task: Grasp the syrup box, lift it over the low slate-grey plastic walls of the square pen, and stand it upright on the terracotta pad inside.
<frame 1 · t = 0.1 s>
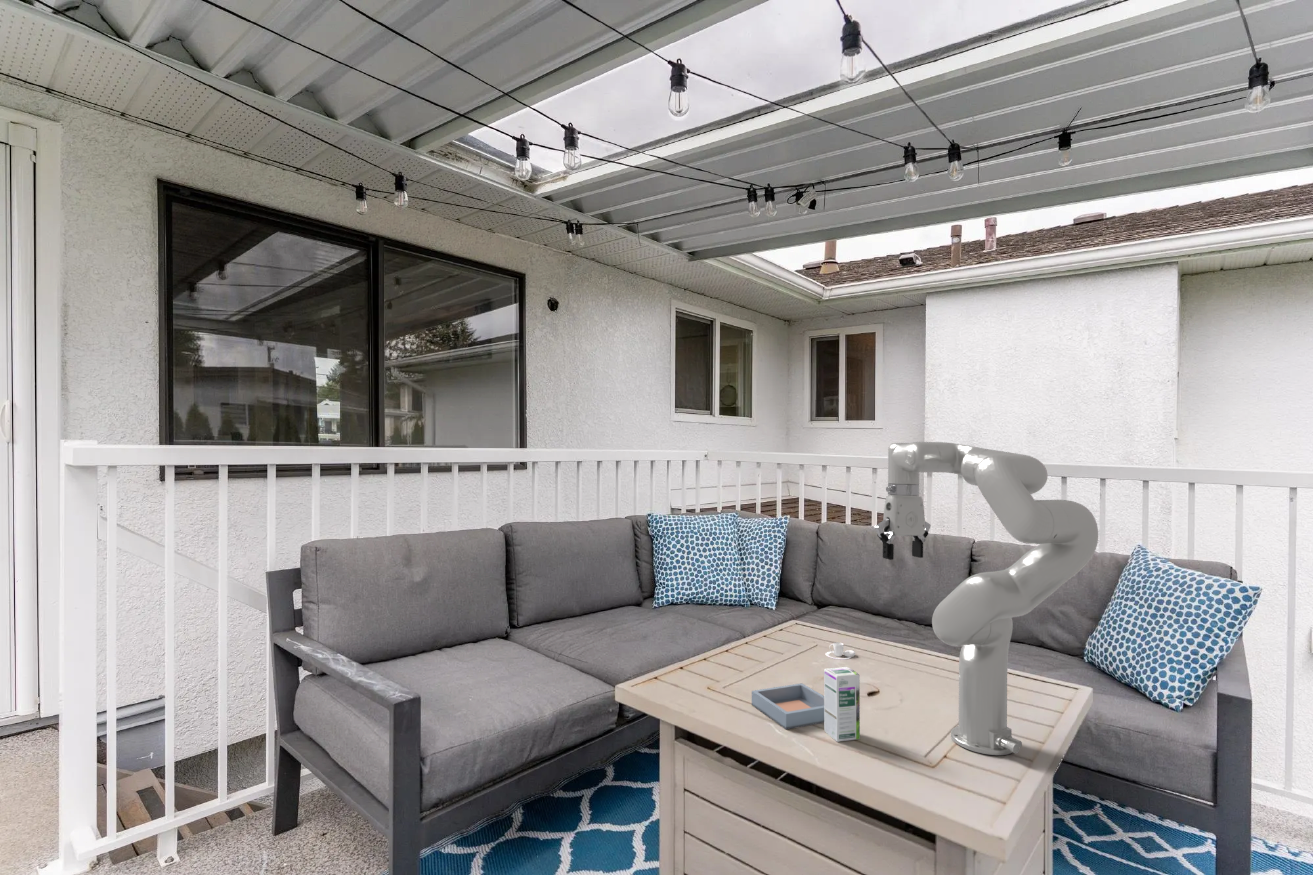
hand: (902, 557, 163), 37 cm above the table, tool pointing down, fingers open, 9 cm apart
teacup and saucer: (845, 660, 197), on the table
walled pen: (794, 712, 155), on the table
syrup box: (841, 736, 143), on the table
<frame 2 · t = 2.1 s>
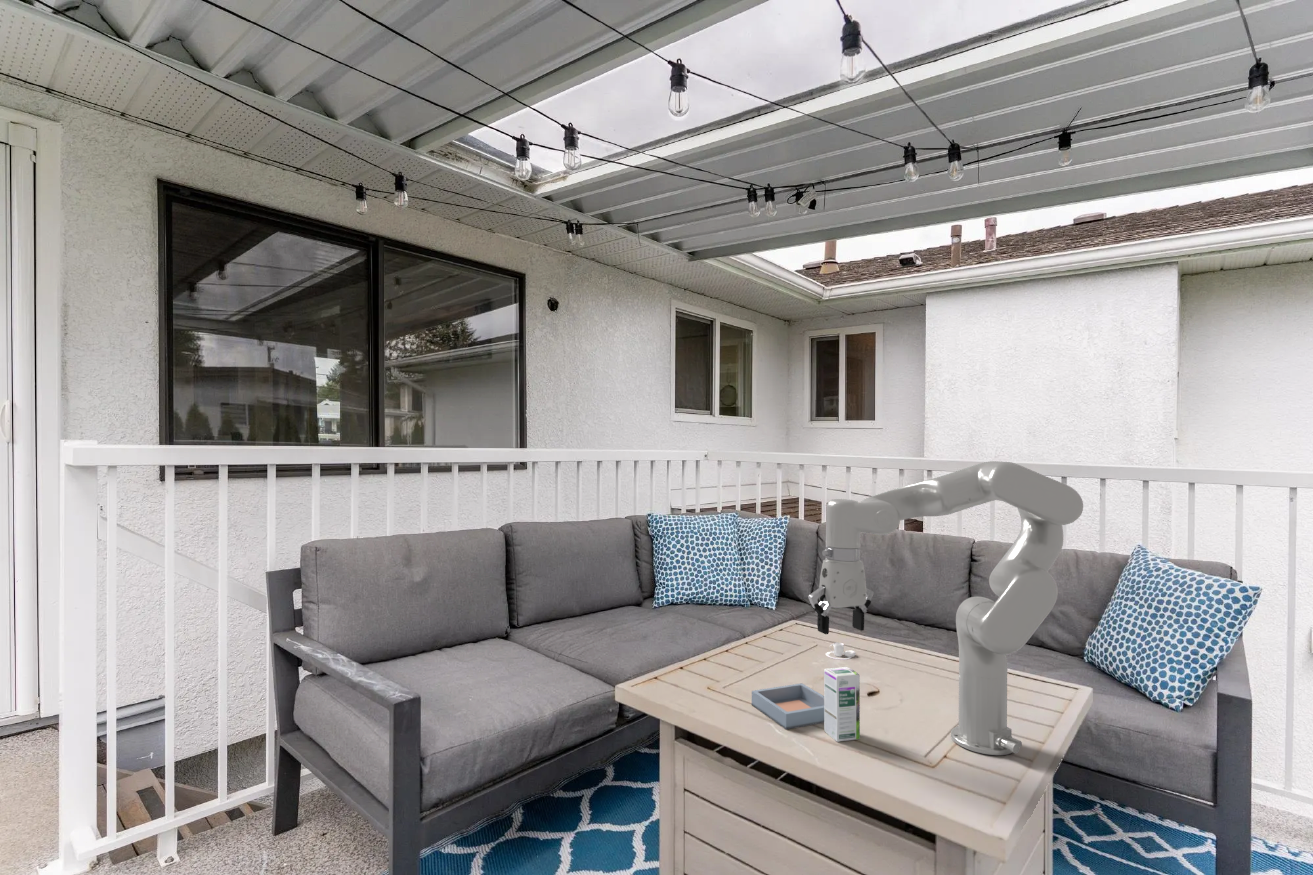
hand: (840, 630, 144), 23 cm above the table, tool pointing down, fingers open, 9 cm apart
nothing on the table moved.
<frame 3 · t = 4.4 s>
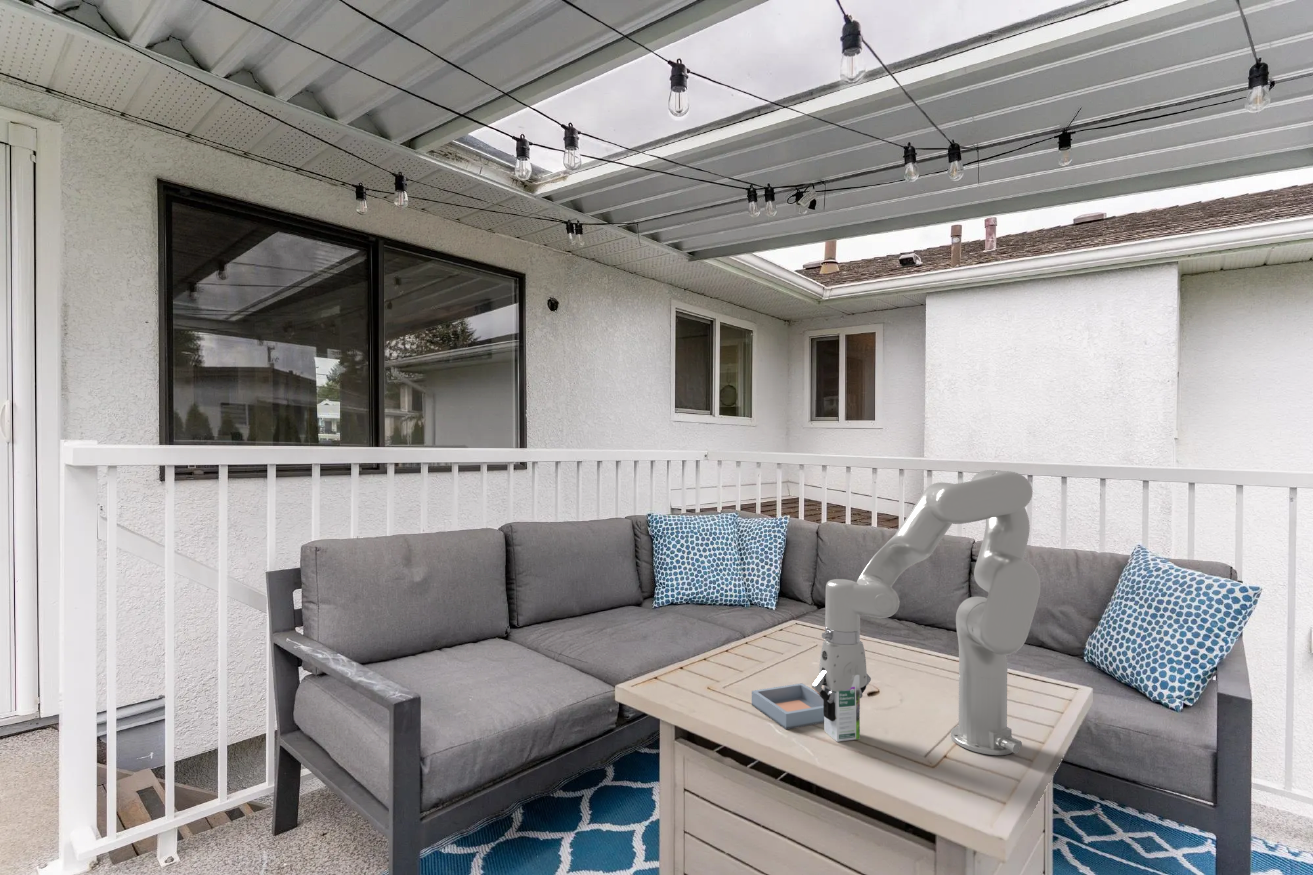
hand: (841, 715, 143), 4 cm above the table, tool pointing down, fingers closed on syrup box, 6 cm apart
syrup box: (841, 736, 143), on the table, touching gripper
everything else where it was.
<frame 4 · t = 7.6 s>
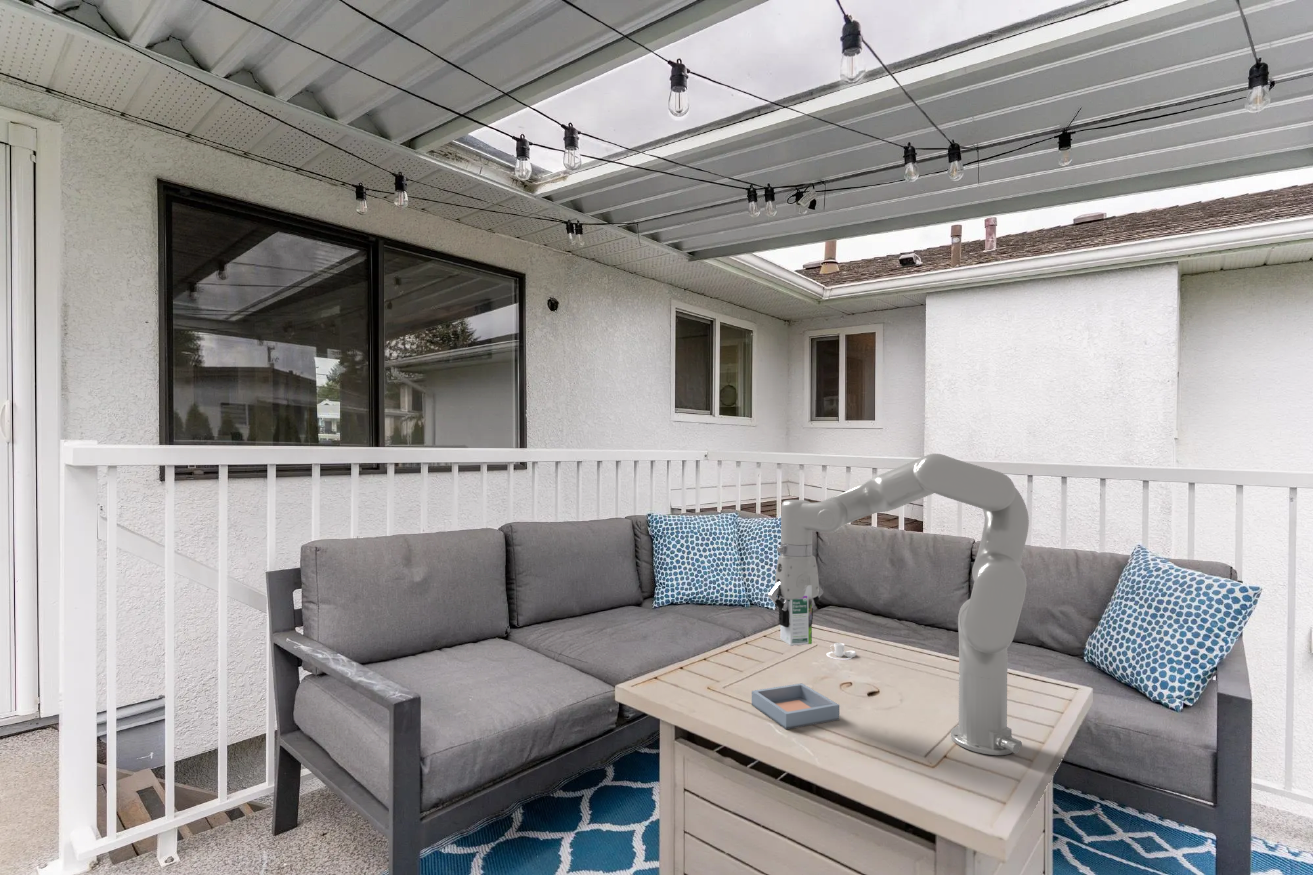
hand: (795, 623, 156), 21 cm above the table, tool pointing down, fingers closed on syrup box, 6 cm apart
syrup box: (795, 642, 156), point 17 cm above the table, touching gripper
everything else where it was.
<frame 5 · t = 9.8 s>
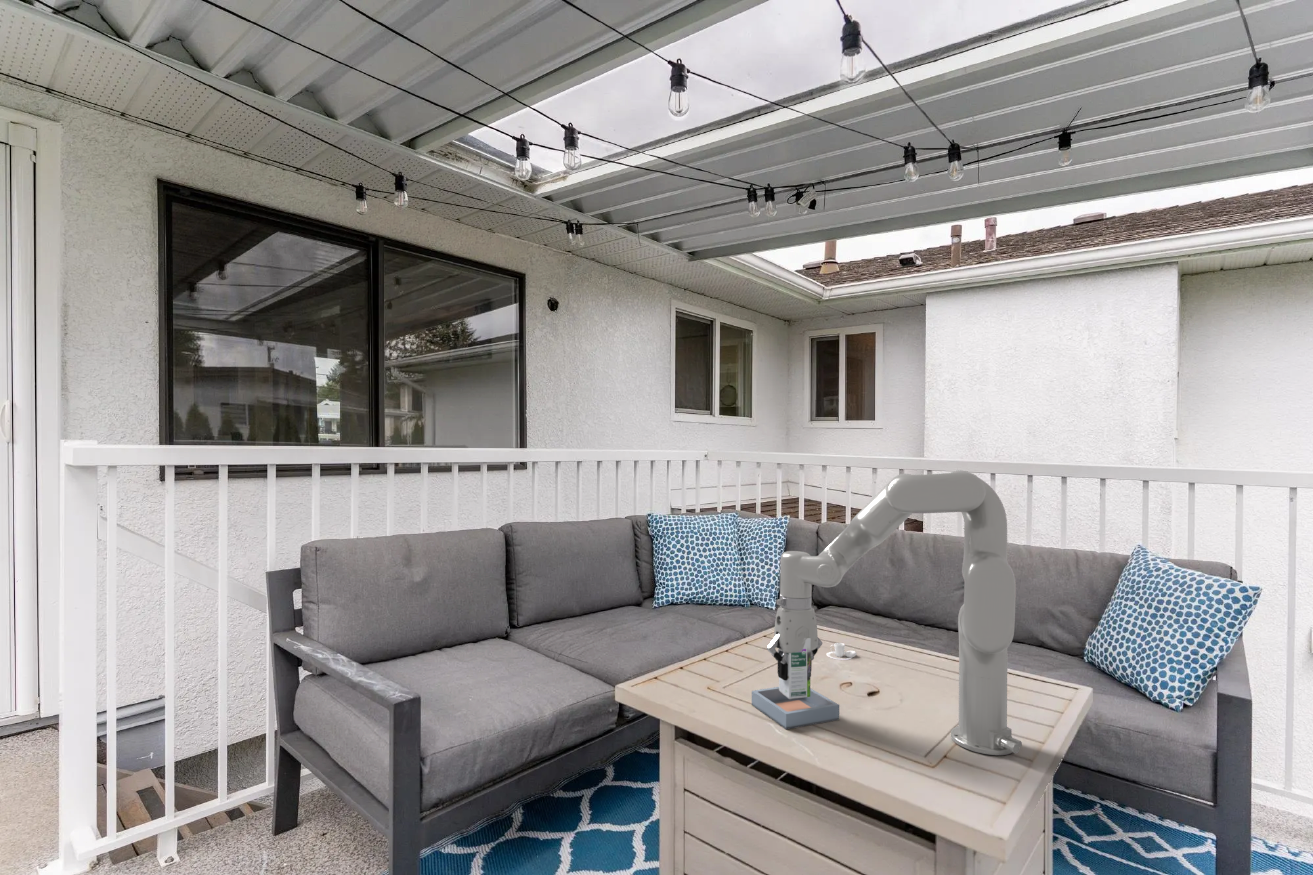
hand: (794, 676, 156), 9 cm above the table, tool pointing down, fingers closed on syrup box, 6 cm apart
syrup box: (794, 695, 156), point 4 cm above the table, touching gripper
everything else where it was.
when the fingers open (6 cm above the table, at t = 11.2 s): syrup box drops 1 cm, resting on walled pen.
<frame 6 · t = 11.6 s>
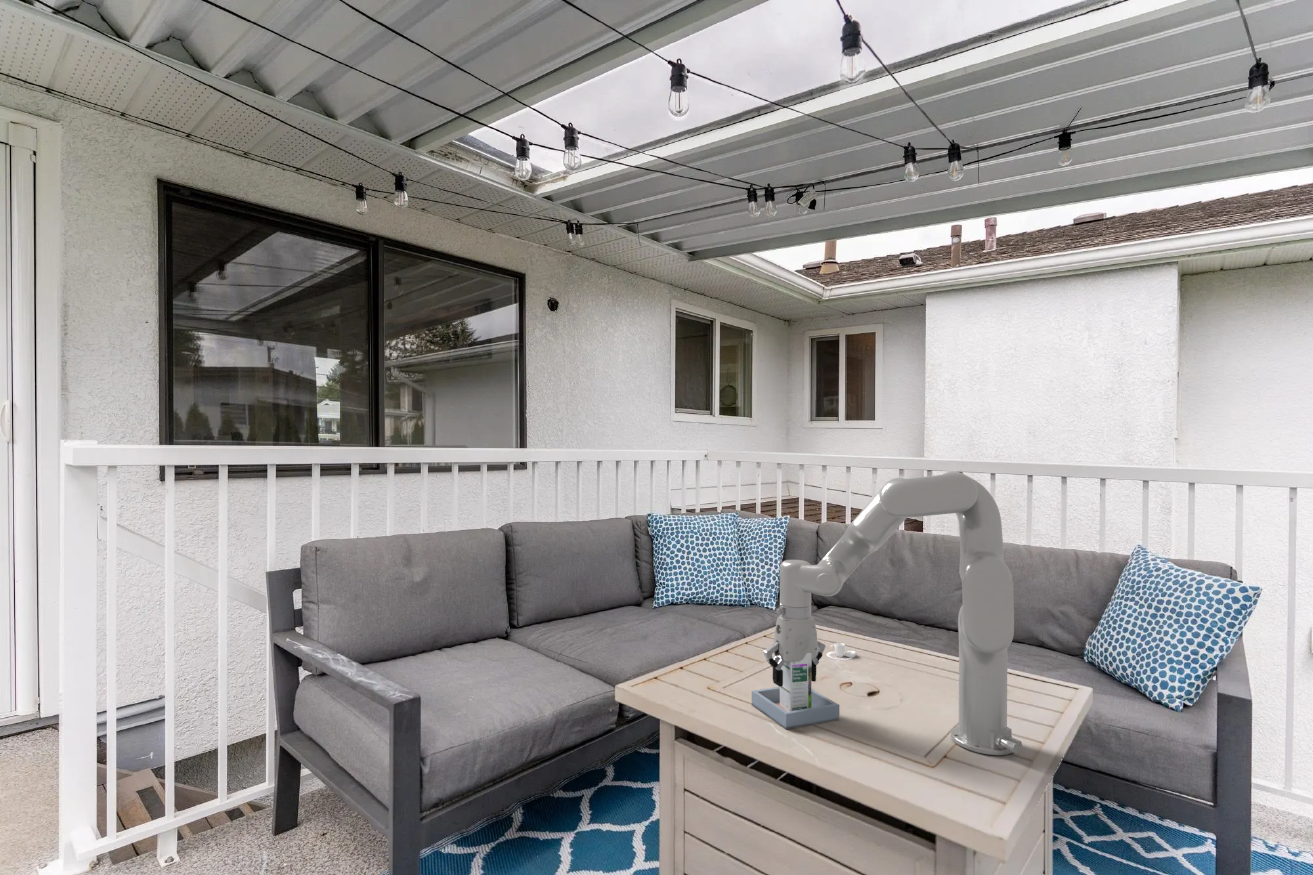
hand: (794, 682, 156), 7 cm above the table, tool pointing down, fingers open, 9 cm apart
syrup box: (795, 710, 155), point 1 cm above the table, touching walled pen
everything else where it was.
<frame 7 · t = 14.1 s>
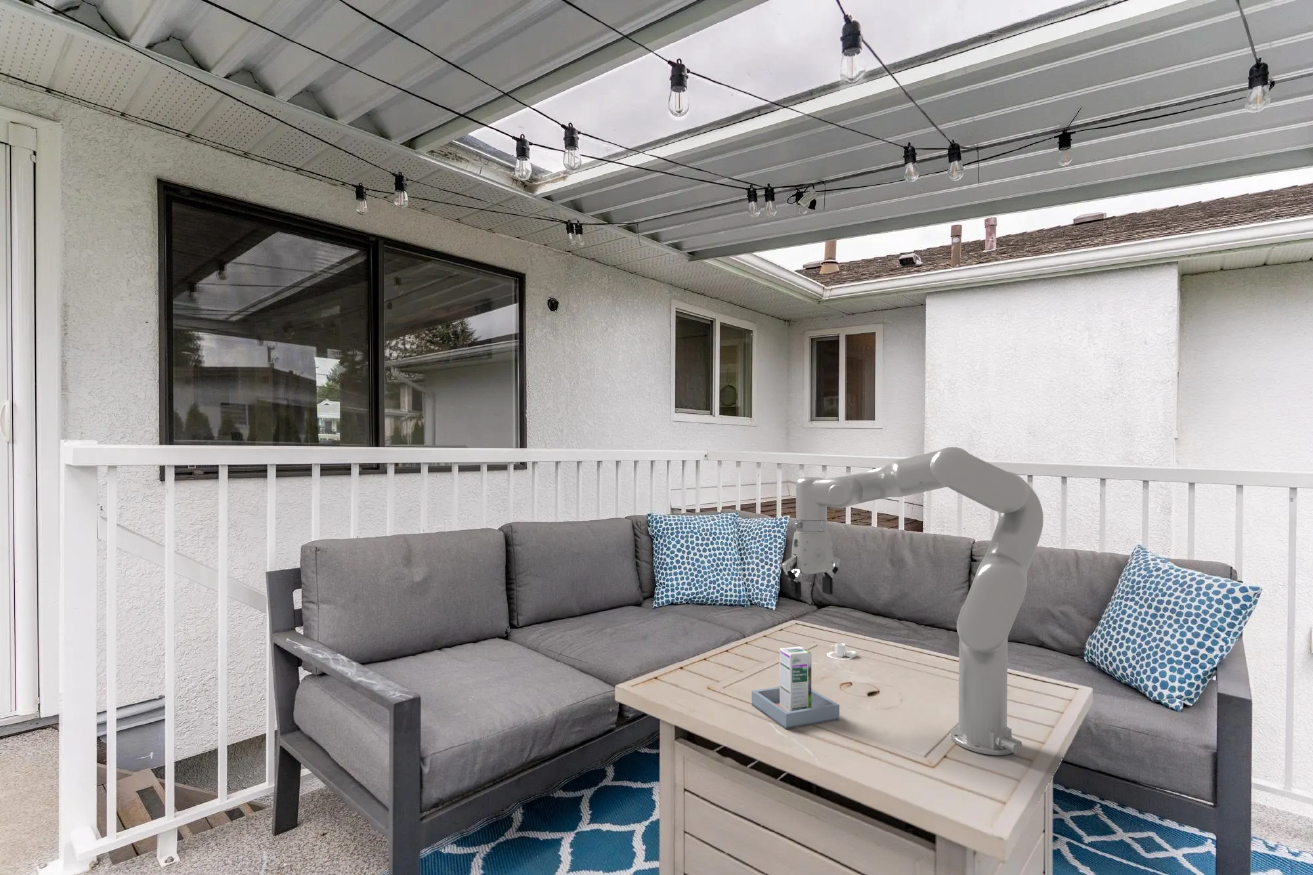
hand: (811, 595, 159), 28 cm above the table, tool pointing down, fingers open, 9 cm apart
nothing on the table moved.
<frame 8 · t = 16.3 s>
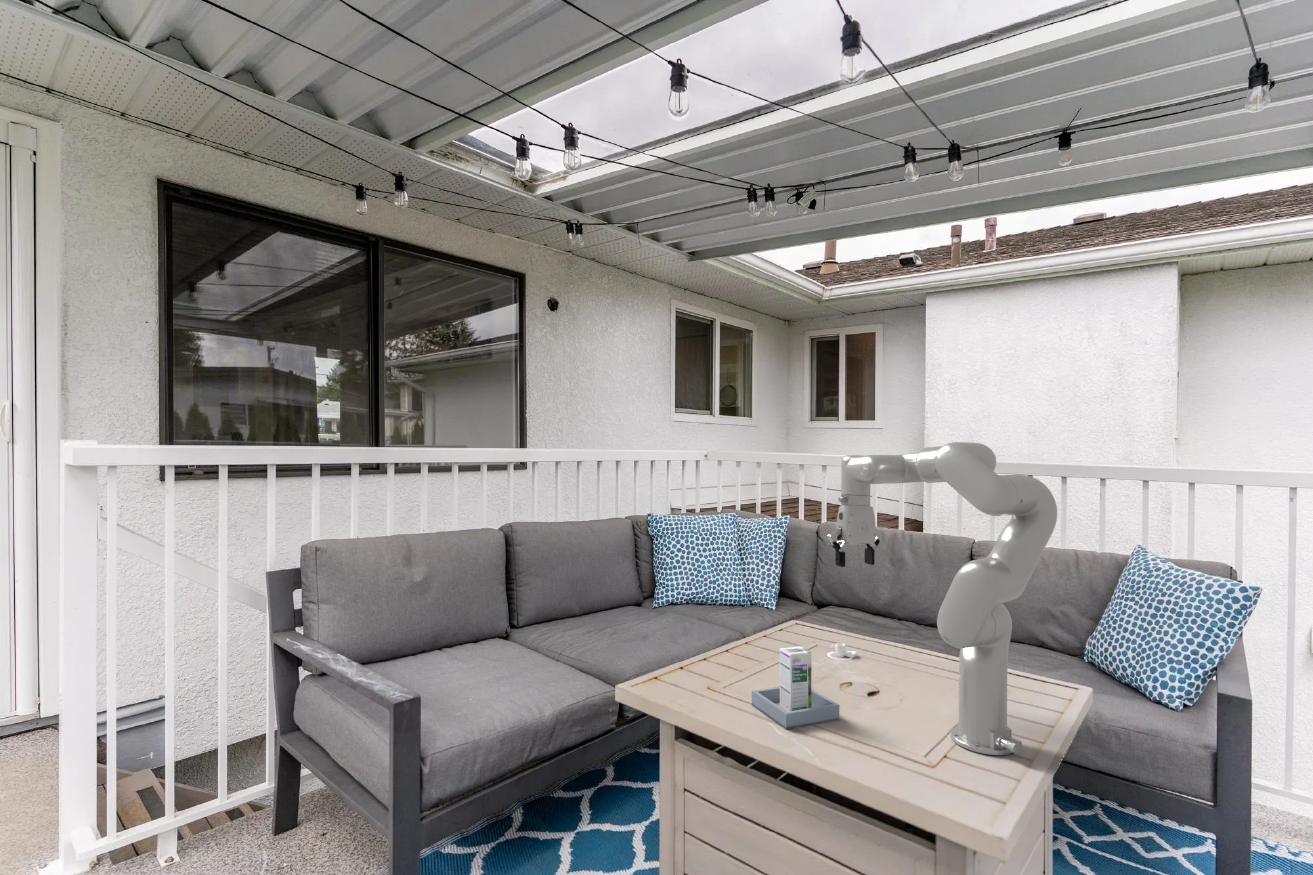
hand: (855, 565, 171), 33 cm above the table, tool pointing down, fingers open, 9 cm apart
nothing on the table moved.
at the end: syrup box 0.2 cm off-centre on the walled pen, point 0.5 cm above the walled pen's base; syrup box tilted 0°; the gripper is holding nothing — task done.
